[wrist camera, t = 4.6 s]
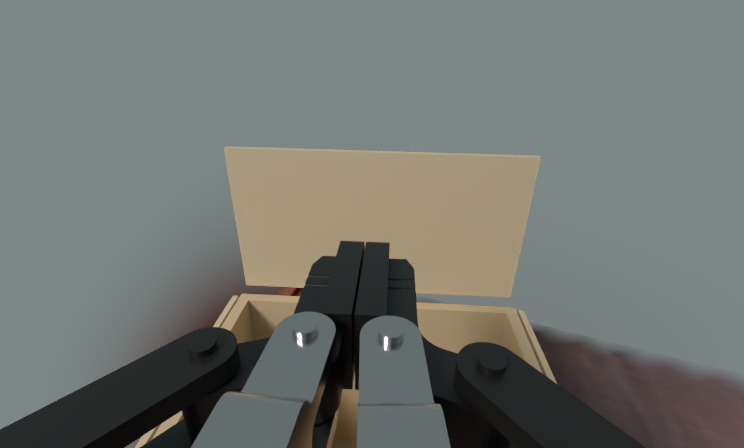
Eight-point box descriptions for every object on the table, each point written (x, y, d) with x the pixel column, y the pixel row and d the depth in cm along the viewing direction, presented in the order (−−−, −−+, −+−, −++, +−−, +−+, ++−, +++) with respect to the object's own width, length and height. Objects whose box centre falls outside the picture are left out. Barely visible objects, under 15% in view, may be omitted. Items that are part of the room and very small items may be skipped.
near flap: (510, 297, 23) (509, 294, 23) (540, 157, 19) (538, 155, 19) (246, 284, 24) (248, 281, 24) (223, 148, 20) (226, 146, 20)
